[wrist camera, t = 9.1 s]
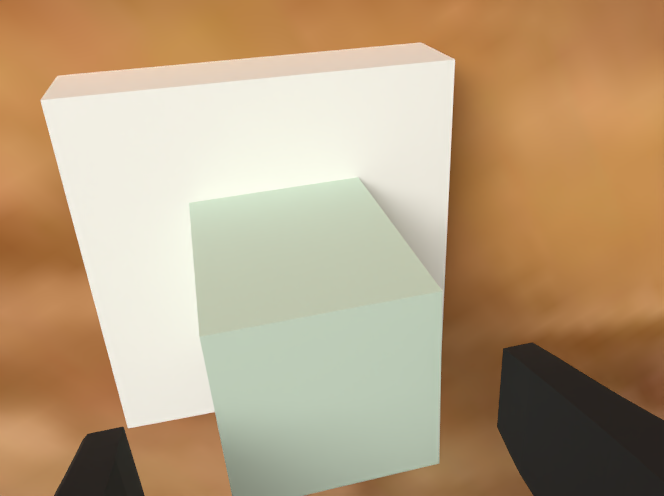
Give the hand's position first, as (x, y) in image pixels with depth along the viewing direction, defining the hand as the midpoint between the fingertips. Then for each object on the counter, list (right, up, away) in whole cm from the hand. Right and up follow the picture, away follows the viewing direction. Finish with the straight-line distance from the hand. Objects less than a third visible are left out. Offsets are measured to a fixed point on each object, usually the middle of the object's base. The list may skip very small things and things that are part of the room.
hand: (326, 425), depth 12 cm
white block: (-2, +4, +8) cm, 10 cm away
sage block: (-1, +3, +6) cm, 7 cm away
